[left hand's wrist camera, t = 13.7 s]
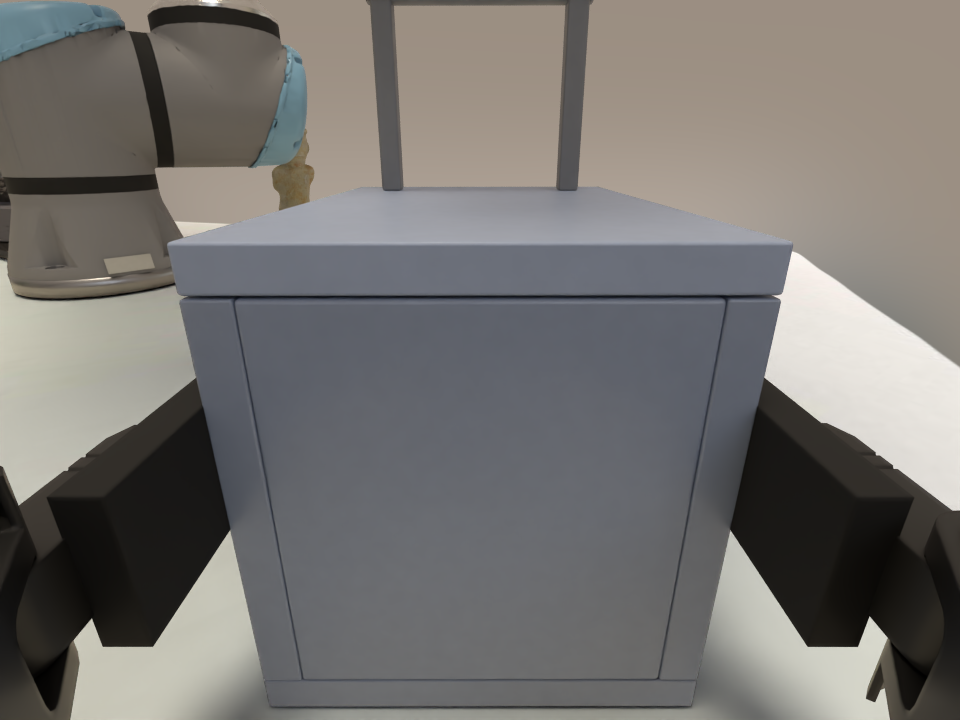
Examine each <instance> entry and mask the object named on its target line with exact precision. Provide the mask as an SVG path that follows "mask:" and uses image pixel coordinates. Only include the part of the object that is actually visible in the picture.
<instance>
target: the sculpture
mask: <svg viewBox="0 0 960 720" xmlns="http://www.w3.org/2000/svg"><path fill="white" fill-rule="evenodd" d="M306 133H307V130H306V129H305V130H304V136H303V139H302V143H301V146H300V148H299V151H298V153H297V154H296V156H295V157H294V158H293V159H292V160H291V161H289V162H288V163H286V164H282V165H279V166H277V167H276V168H274V170H273V171H272V178H273V186H274V189H275V190H276V191H278V193H279V195H280V205H279V211H280V210H283V209H287V208H290V207H294V206H297V205H301V204H304V203H308V202H310V201H309V190H310V184H311V182H312V180H313V178H314V169H313V168H312V167H311V166H309V165H305V159H306V156H307V153H308V152H309V145H308V143H307V140H306Z"/></svg>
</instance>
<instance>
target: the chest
mask: <svg viewBox="0 0 960 720" xmlns="http://www.w3.org/2000/svg"><path fill="white" fill-rule="evenodd" d="M780 304H781V301H780V299H778V298H776V297H774V296H772V295H581V296H188V297H186V298H184V299H182V300H180V308H181V312H182V317H183V321H184V326H185V330H186V334H187V339H188V343H189V348H190V352H191V357H192V361H193V366H194V370H195V375H196V379H197V383H198V388H199V392H200V397H201V401H202V406H203V408H204V413H205V417H206V422H207V426H208V431H209V435H210V440H211V444H212V449H213V453H214V458H215V462H216V466H217V471H218V475H219V480H220V484H221V489H222V493H223V498H224V502H225V507H226V511H227V516H228V520H229V525H230V530H231V535H232V539H233V544H234V548H235V553H236V557H237V562H238V566H239V571H240V575H241V579H242V584H243V588H244V593H245V597H246V602H247V606H248V611H249V615H250V620H251V624H252V629H253V633H254V637H255V642H256V646H257V651H258V655H259V660H260V664H261V669H262V673H263V678H264V680H265V687H266V691H267V695H268V700H269V704H270V706H691V705H692V700H693V696H694V691H695V687H696V682H697V680H696V679H697V678H698V673H699V669H700V664H701V660H702V655H703V651H704V646H705V642H706V637H707V633H708V628H709V624H710V619H711V615H712V610H713V606H714V601H715V597H716V592H717V588H718V583H719V579H720V574H721V570H722V565H723V561H724V556H725V552H726V547H727V543H728V538H729V534H730V527H731V523H732V518H733V514H734V509H735V505H736V500H737V496H738V491H739V487H740V482H741V478H742V473H743V469H744V464H745V460H746V455H747V451H748V446H749V442H750V437H751V433H752V428H753V424H754V419H755V415H756V411H757V406H758V403H759V398H760V394H761V389H762V385H763V380H764V376H765V371H766V367H767V362H768V358H769V353H770V349H771V344H772V340H773V335H774V331H775V326H776V322H777V317H778V313H779V308H780Z"/></svg>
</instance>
